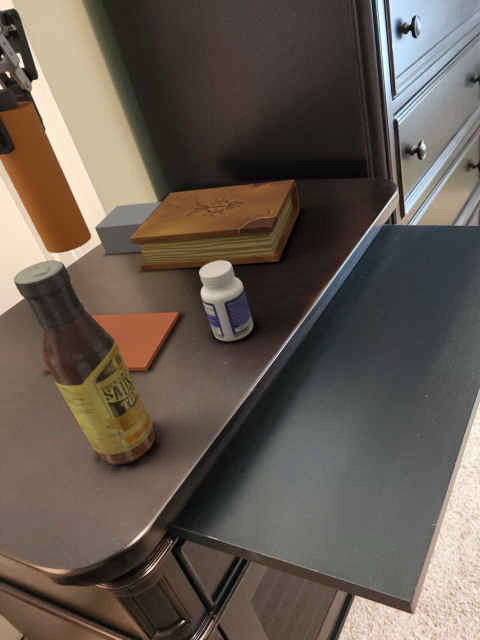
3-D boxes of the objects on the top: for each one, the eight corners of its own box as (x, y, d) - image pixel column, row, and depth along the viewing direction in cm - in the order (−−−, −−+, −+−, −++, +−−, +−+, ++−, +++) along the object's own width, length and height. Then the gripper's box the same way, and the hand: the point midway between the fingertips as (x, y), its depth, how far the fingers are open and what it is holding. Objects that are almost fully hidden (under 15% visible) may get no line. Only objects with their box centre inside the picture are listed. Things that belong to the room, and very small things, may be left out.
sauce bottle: (150, 465, 52) (57, 289, 39) (91, 470, 52) (-20, 300, 39) (164, 419, 56) (86, 248, 43) (110, 424, 57) (17, 259, 44)
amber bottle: (38, 254, 59) (-43, 102, 49) (60, 234, 63) (-10, 88, 53) (78, 251, 58) (4, 95, 48) (99, 230, 62) (34, 81, 51)
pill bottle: (255, 316, 69) (239, 254, 63) (252, 339, 65) (235, 276, 59) (216, 321, 70) (197, 261, 64) (211, 344, 66) (190, 282, 60)
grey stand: (106, 254, 92) (94, 227, 89) (127, 231, 98) (116, 205, 95) (152, 251, 90) (142, 223, 87) (170, 228, 96) (161, 201, 93)
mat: (48, 372, 67) (45, 368, 67) (90, 319, 76) (89, 315, 75) (147, 370, 64) (145, 367, 63) (179, 315, 72) (178, 311, 72)
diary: (300, 210, 93) (295, 177, 89) (278, 262, 79) (271, 226, 76) (181, 220, 98) (171, 189, 94) (142, 270, 85) (129, 237, 81)
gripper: (-64, -73, 48) (27, 126, 59) (-197, -67, 38) (-55, 172, 49) (4, -91, 46) (86, 118, 58) (-115, -89, 36) (13, 164, 47)
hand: (20, 142), depth 53 cm, fingers closed on amber bottle, 5 cm apart
